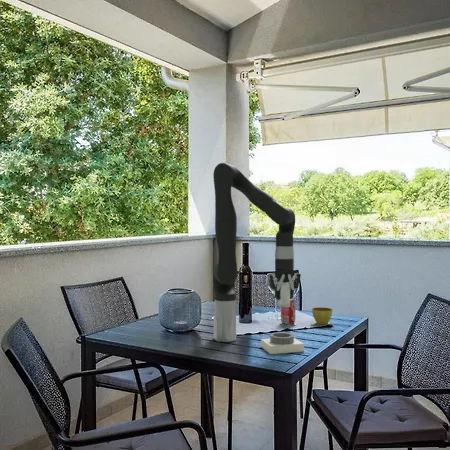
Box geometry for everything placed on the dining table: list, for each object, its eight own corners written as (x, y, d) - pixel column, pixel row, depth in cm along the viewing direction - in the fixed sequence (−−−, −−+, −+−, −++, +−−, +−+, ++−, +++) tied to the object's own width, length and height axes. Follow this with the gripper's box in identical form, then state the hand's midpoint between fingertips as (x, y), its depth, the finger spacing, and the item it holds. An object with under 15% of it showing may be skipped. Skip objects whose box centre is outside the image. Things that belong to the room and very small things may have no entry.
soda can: (293, 321, 238) (293, 297, 237) (296, 324, 231) (296, 300, 230) (279, 321, 237) (279, 297, 237) (282, 324, 230) (282, 300, 230)
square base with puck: (270, 354, 181) (270, 339, 181) (260, 346, 192) (260, 333, 192) (304, 351, 185) (304, 337, 185) (292, 344, 195) (292, 330, 195)
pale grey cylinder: (280, 307, 188) (281, 282, 188) (276, 305, 193) (276, 280, 193) (292, 307, 190) (292, 281, 189) (287, 304, 194) (287, 280, 194)
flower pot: (310, 321, 238) (310, 307, 238) (330, 321, 238) (330, 307, 238) (313, 325, 228) (313, 311, 228) (334, 325, 228) (334, 311, 228)
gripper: (271, 258, 185) (271, 301, 186) (304, 257, 189) (304, 300, 190) (264, 257, 193) (264, 298, 193) (296, 256, 197) (296, 297, 197)
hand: (284, 299), depth 191 cm, fingers closed on pale grey cylinder, 5 cm apart
